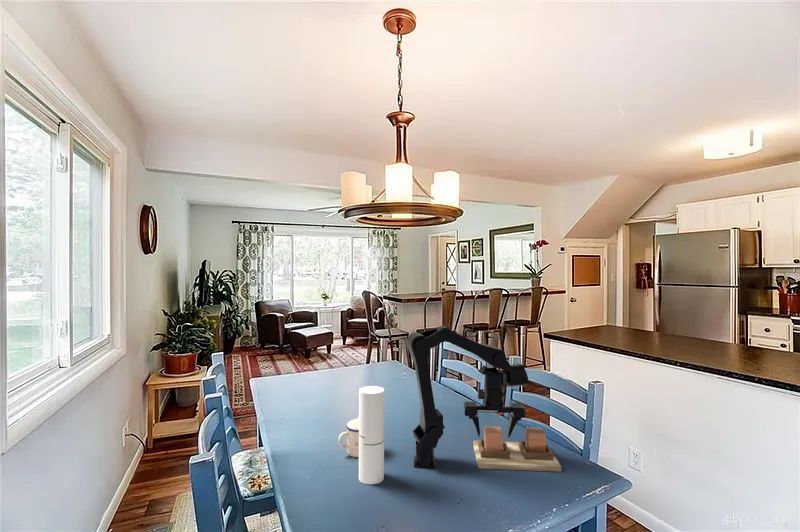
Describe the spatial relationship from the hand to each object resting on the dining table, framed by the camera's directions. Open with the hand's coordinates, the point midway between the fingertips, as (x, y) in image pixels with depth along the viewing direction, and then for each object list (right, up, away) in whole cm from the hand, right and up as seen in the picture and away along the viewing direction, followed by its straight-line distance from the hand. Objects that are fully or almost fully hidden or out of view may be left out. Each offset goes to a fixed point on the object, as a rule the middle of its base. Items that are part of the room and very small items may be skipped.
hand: (493, 436), depth 131 cm
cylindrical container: (-38, -6, -13) cm, 41 cm away
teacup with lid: (-44, -6, +2) cm, 44 cm away
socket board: (+6, -6, -1) cm, 9 cm away
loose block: (0, -5, 0) cm, 5 cm away
